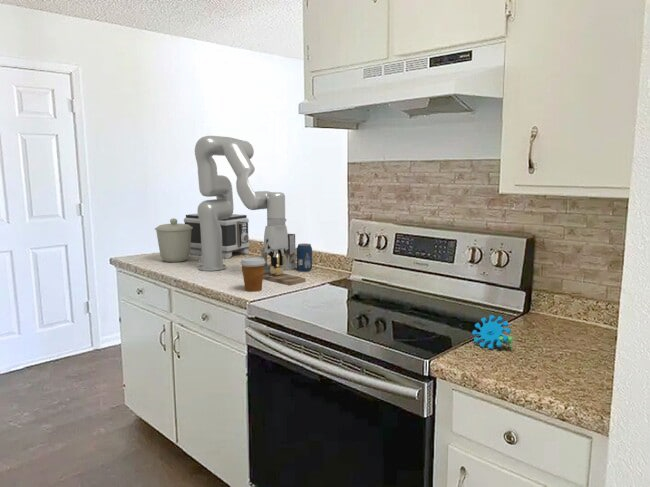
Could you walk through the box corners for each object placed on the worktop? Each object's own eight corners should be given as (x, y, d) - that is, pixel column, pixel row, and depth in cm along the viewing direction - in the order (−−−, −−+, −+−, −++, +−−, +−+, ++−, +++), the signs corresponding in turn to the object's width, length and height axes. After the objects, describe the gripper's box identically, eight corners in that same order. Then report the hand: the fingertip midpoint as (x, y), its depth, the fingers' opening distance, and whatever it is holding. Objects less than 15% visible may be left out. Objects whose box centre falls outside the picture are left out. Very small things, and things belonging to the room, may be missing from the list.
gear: (464, 337, 138) (484, 308, 141) (471, 347, 142) (491, 319, 144) (499, 354, 130) (520, 323, 132) (506, 365, 134) (526, 335, 136)
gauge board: (251, 276, 219) (250, 248, 218) (266, 273, 226) (266, 246, 224) (289, 285, 203) (289, 255, 202) (305, 281, 210) (305, 252, 208)
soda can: (302, 268, 237) (302, 242, 235) (314, 270, 233) (314, 244, 231) (293, 271, 231) (293, 244, 229) (306, 272, 227) (306, 246, 225)
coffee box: (296, 267, 238) (296, 233, 235) (290, 270, 232) (290, 235, 229) (278, 266, 241) (278, 232, 239) (272, 269, 235) (272, 234, 233)
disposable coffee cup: (251, 294, 190) (251, 262, 188) (235, 289, 196) (235, 259, 194) (271, 289, 197) (270, 258, 195) (255, 285, 203) (254, 255, 201)
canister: (148, 262, 250) (146, 219, 247) (172, 256, 267) (170, 215, 263) (178, 265, 243) (176, 221, 240) (201, 258, 260) (199, 217, 257)
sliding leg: (266, 275, 213) (265, 254, 212) (277, 272, 218) (277, 252, 217) (271, 276, 211) (271, 255, 210) (283, 273, 216) (283, 253, 214)
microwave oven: (233, 260, 257) (232, 218, 254) (184, 253, 274) (182, 214, 271) (256, 254, 273) (255, 215, 270) (208, 249, 290) (206, 212, 287)
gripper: (284, 220, 220) (284, 261, 223) (255, 223, 209) (256, 267, 212) (296, 221, 215) (296, 264, 218) (267, 224, 204) (268, 269, 207)
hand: (276, 265), depth 215 cm, fingers closed on sliding leg, 2 cm apart
